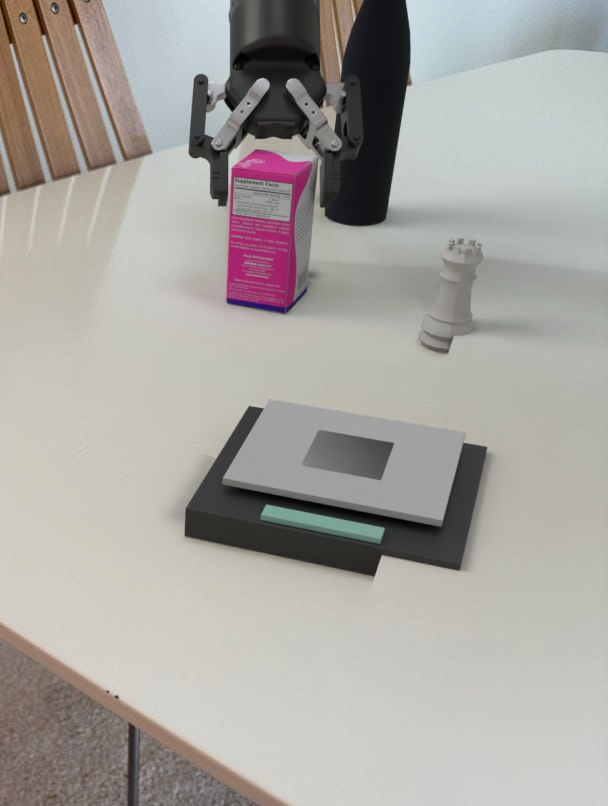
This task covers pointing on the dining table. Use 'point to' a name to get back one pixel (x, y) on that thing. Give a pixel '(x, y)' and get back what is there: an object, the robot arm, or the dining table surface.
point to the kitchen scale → (339, 489)
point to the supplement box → (270, 229)
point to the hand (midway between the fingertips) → (274, 202)
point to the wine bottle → (374, 109)
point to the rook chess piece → (452, 297)
